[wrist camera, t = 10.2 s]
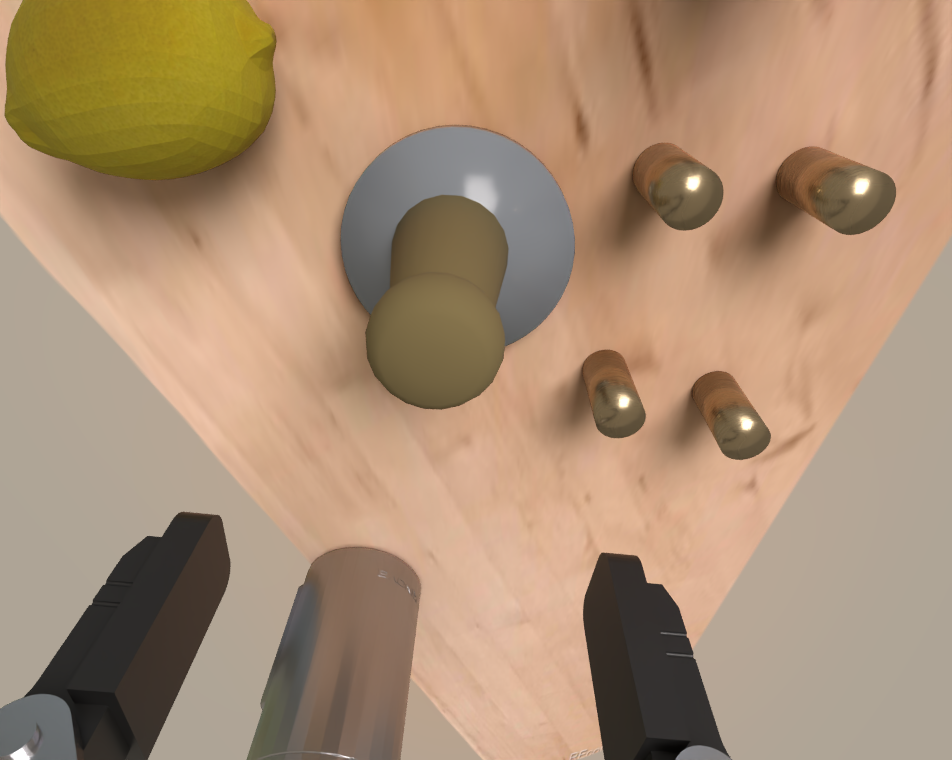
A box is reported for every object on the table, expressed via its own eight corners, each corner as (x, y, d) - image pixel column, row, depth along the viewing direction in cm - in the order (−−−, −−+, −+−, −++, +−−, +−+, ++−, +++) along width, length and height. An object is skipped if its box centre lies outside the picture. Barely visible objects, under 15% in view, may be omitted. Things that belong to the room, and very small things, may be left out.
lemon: (280, -65, 22) (191, -100, 16) (332, 140, 27) (279, 182, 20) (33, -22, 23) (-150, -38, 17) (121, 170, 28) (3, 219, 21)
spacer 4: (788, 212, 28) (840, 246, 24) (767, 170, 27) (818, 198, 23) (840, 179, 27) (904, 209, 23) (820, 134, 26) (884, 157, 22)
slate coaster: (445, 380, 34) (444, 389, 33) (297, 229, 29) (291, 235, 28) (615, 265, 30) (619, 273, 29) (476, 65, 25) (475, 67, 24)
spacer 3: (703, 413, 35) (732, 466, 31) (684, 386, 34) (712, 437, 30) (742, 392, 34) (778, 444, 30) (724, 363, 33) (758, 414, 29)
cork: (526, 282, 29) (543, 403, 20) (424, 322, 31) (397, 453, 22) (479, 173, 26) (475, 258, 17) (369, 224, 28) (311, 327, 19)
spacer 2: (649, 208, 28) (677, 242, 24) (622, 166, 27) (647, 194, 23) (696, 175, 27) (733, 204, 23) (671, 130, 26) (705, 152, 22)
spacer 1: (597, 393, 34) (611, 445, 30) (573, 365, 33) (585, 415, 29) (634, 371, 33) (654, 422, 29) (611, 341, 32) (629, 390, 28)
